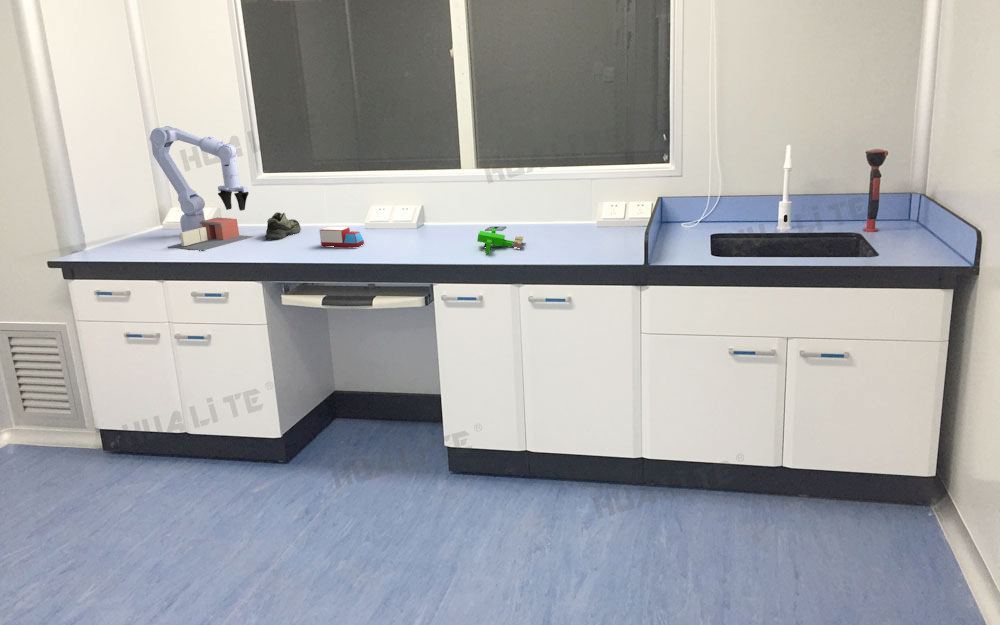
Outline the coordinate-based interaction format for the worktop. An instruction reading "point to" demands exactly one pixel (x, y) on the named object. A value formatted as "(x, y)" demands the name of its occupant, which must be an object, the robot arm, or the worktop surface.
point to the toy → (497, 240)
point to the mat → (209, 243)
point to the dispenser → (221, 228)
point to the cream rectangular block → (193, 236)
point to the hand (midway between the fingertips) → (235, 209)
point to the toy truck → (340, 237)
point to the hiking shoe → (281, 227)
